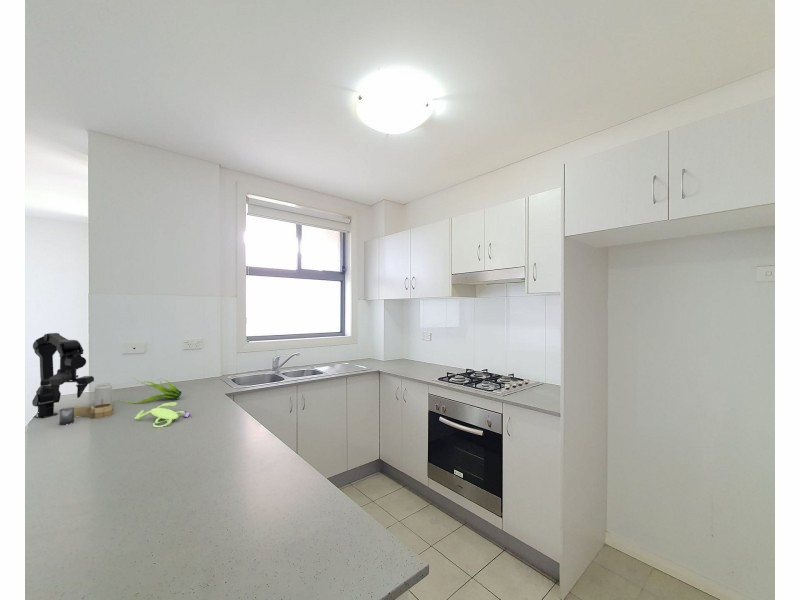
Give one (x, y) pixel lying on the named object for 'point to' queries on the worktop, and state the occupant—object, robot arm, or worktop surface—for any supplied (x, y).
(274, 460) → the worktop surface
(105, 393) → the can
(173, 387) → the decorative plant
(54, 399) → the robot arm
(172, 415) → the figurine
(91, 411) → the hinge
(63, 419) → the hinge pin
